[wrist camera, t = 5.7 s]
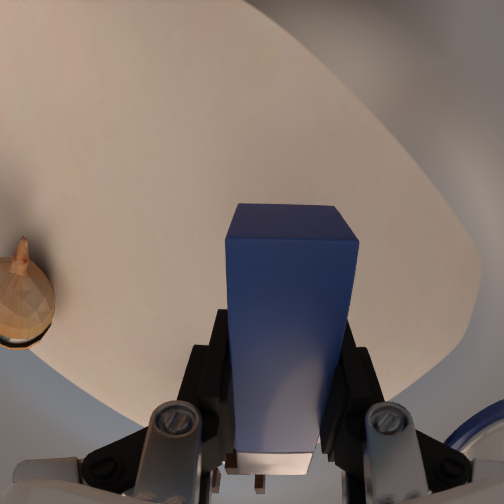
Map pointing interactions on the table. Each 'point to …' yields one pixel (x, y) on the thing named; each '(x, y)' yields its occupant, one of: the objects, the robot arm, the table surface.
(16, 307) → the sculpture
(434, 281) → the table surface
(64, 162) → the table surface
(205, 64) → the table surface
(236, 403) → the blue eraser block
